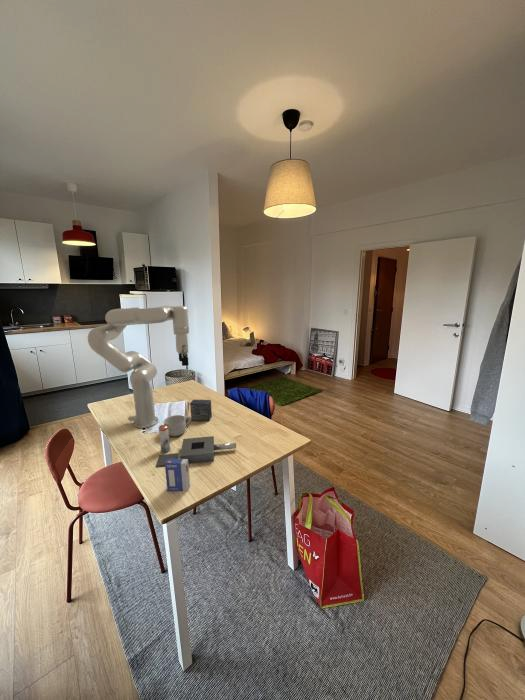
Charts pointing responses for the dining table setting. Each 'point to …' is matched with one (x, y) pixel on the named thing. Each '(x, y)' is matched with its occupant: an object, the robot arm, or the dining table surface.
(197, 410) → the small box
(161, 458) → the rubber pad
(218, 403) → the dining table surface
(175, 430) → the teacup
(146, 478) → the dining table surface
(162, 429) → the silver copper cylinder
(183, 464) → the walkman
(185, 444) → the block
